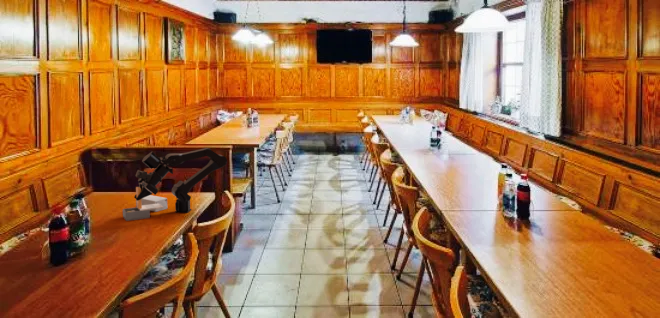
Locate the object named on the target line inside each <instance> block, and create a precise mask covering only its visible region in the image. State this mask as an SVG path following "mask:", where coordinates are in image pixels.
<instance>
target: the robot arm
mask: <svg viewBox="0 0 660 318" xmlns="http://www.w3.org/2000/svg"><path fill="white" fill-rule="evenodd" d="M204 157H207V158H208V159H210V160H209V162H208V163H207V164H206V165H205V166H204V167H202V168H201V169H200V170H198V171H196V173H194V174H193V175H192V176H191V177H189V178H188V179H187V180H184V181H182V180H179V181H178V182H177V183H175V184H173V186H172V188H171V194H172V195H173V196H174V197H175V198H176V200H175V202H174V204H175V206H174V207H175V211H174V213H179V214H180V213H183V214H185V213H186V214H188V213H189V212H191V211H192V208H191V198H192V196H191V195H190V194H189V192H190V191H191V189H192V188H193V187H194V186H196V185H197V184H198V183H200V182H201V181H202V180H203V179H205V178H206V177H207V176H209V175H210V174H211V173H213V172H214V171H217V170H220V169H222V168H223V167H225V166H226V165H227V164H228V159H227V157H226V156H224V155H222V154H219V153H216V152H215V151H213V150H212V149H211V148H208V147H204V148H201V149H196V150H191V151H187V152H186V151H185V152H182V153H179V152H177V153H176V152H175V153H168V154H166V155H165V156H160V157H159V156H158V155H156V153H155V152H153V151H150V152H149V153H148V154H147V155H145V156H144V157H143V158H142V159H141V160H142V161H141V162H142V163H143V164H145V165H146V166H147V167H148V168H149V169H150V170H151V169H154V170H153V171H150V172H149V173H148V172H147V171H145V170H143V171H142V170H139V169H137V171H136V174H135V177H136V178H137V179H138V180H137V181H138V185H139V186H138V187H140V188H141V192H140V194H139V195H138V197H137V198H136V194H135V195H134V200H135V201H136V200H137V201H138V200H140V199H142V198H144V197H147V196H149V195H154V196H157V194H158V192H159V189H158V188H157V185H158V184H159V183H161V182H162V181H163V178H165V177H166V175H168V173H170V174H172V175H173V174H174V168H173V167H177V166H179V165H181V164H183V163H184V162H188V161H191V160H195V159H200V158H204Z"/></svg>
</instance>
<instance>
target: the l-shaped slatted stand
mask: <svg viewBox="0 0 660 318" xmlns="http://www.w3.org/2000/svg"><path fill="white" fill-rule="evenodd" d="M140 192H141V188H140V187H139V186H135V195H136V198H137V197H138V195H139V194H140ZM137 208H138V209H139V210H140V211H143V210H151V209H160V208H163V206H162V205H160V204H159V203H158V204H149V205H142V203H141V199H140V200H138V201H137Z"/></svg>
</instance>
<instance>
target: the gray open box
mask: <svg viewBox="0 0 660 318" xmlns="http://www.w3.org/2000/svg"><path fill="white" fill-rule="evenodd" d="M150 213H151V211H150V210H143V211H140V210H139V209H138V208H137V207H136V206H135V207H128V208H123V209H122V217H123V219H124V220H125V221H126V222H128V221H129V222H130V221H135V220H144V219H150V218H151V214H150Z"/></svg>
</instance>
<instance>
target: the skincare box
mask: <svg viewBox="0 0 660 318" xmlns="http://www.w3.org/2000/svg"><path fill="white" fill-rule="evenodd" d="M141 203H142V205H149V204H158V203H159V204H160V205H162V206H163V208H160V209H151V210H150V212H160V211H163V210H167V209H168V198H167V197H162V196H157V195H153V194H151V195H149V196H147V197H144V198H142V199H141ZM135 207H137V200H136V199H135Z"/></svg>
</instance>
